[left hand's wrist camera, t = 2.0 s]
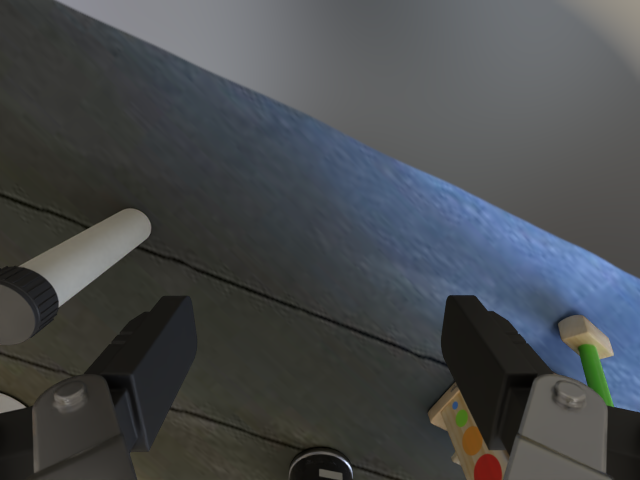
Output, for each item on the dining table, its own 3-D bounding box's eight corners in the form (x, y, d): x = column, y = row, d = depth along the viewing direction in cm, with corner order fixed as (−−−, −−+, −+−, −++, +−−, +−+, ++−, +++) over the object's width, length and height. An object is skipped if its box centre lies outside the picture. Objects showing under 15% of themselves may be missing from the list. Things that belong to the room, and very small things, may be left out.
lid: (45, 261, 25) (18, 277, 23) (70, 322, 27) (47, 342, 25) (-24, 268, 25) (-57, 284, 23) (5, 329, 27) (-23, 349, 25)
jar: (146, 206, 40) (20, 281, 23) (155, 240, 42) (43, 333, 25) (110, 210, 41) (-40, 287, 24) (121, 243, 42) (-14, 339, 25)
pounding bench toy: (539, 287, 44) (675, 401, 27) (623, 338, 46) (796, 472, 30) (424, 414, 51) (476, 567, 34) (503, 452, 53) (588, 612, 36)
